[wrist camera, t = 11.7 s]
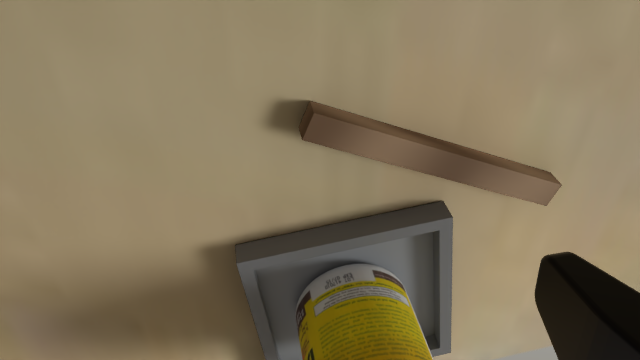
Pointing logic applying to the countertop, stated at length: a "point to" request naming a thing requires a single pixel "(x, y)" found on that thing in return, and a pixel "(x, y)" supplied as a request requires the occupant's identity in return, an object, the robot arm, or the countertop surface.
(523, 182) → the strip
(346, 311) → the supplement bottle
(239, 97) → the countertop surface
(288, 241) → the square tray
